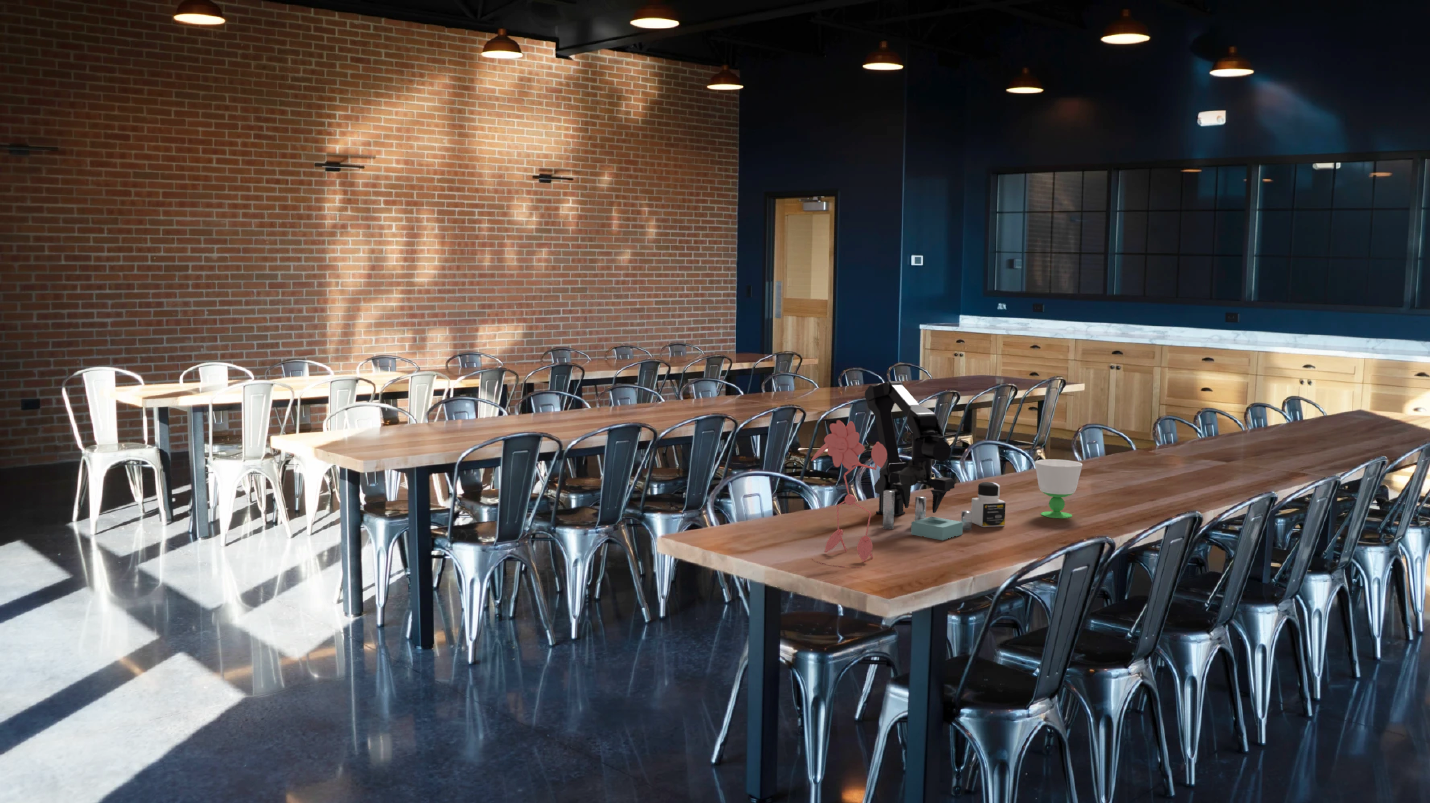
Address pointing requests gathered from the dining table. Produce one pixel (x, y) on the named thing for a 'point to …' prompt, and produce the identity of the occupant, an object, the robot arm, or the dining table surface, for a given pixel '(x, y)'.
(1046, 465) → the cup
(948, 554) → the dining table surface
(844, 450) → the figurine
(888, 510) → the pin long
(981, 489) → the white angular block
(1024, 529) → the dining table surface
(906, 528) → the dining table surface
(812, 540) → the dining table surface
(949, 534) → the socket block
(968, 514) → the pin short
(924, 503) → the pin medium
